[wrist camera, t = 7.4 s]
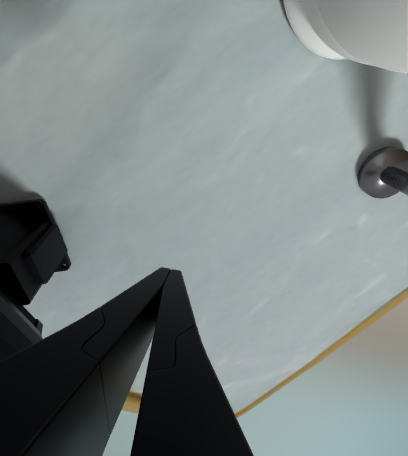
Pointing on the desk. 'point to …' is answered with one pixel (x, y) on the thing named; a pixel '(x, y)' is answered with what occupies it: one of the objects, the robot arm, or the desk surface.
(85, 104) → the desk surface
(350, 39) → the jar
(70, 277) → the desk surface
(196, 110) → the desk surface
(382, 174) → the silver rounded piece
